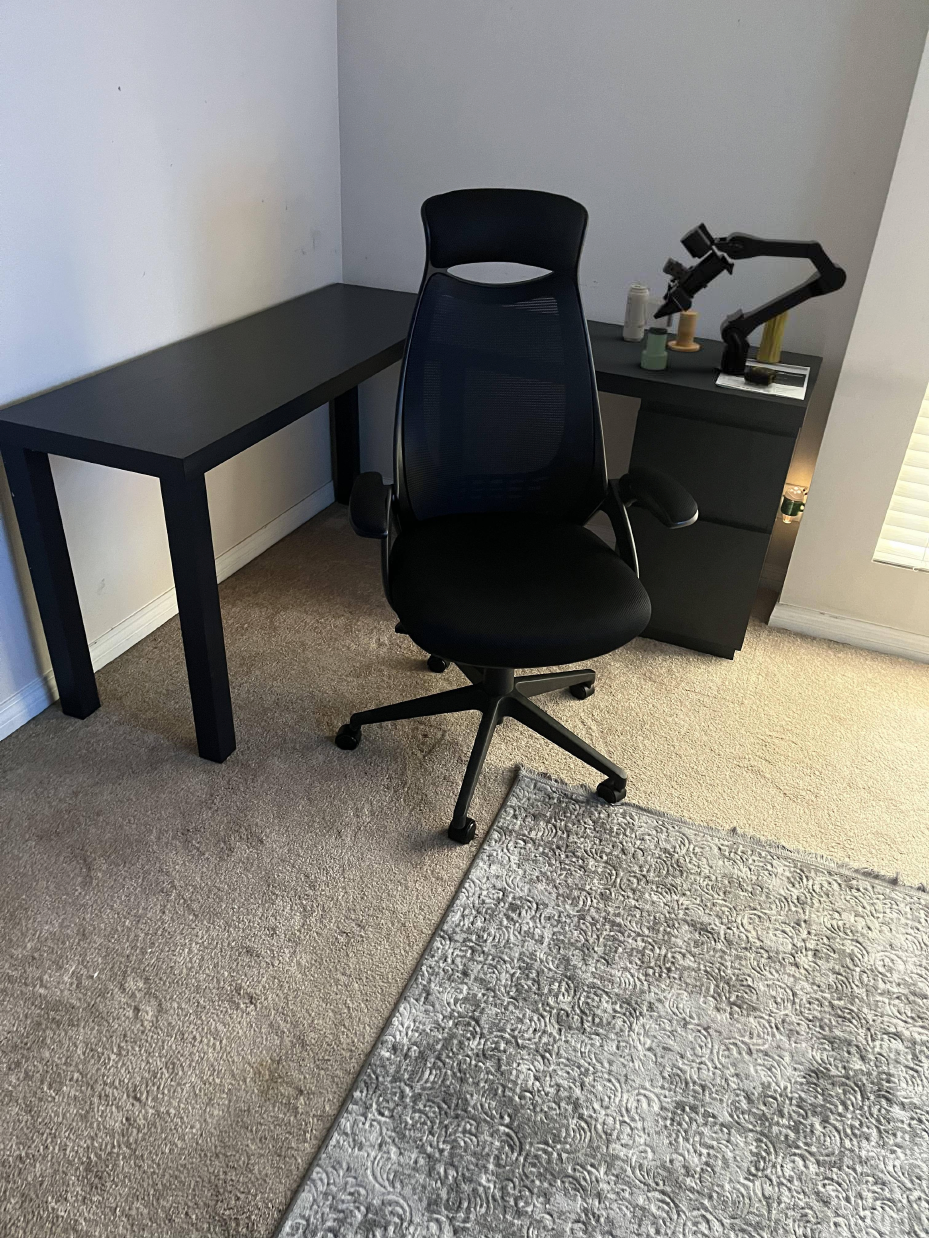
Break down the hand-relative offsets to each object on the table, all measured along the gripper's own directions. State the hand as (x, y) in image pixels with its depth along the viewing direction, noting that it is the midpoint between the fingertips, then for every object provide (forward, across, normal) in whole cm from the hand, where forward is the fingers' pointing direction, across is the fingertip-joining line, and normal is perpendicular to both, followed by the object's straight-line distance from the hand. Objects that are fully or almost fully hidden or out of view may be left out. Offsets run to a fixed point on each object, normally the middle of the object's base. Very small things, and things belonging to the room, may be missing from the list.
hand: (654, 314), depth 232 cm
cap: (+1, 0, +3) cm, 3 cm away
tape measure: (-11, +10, +30) cm, 33 cm away
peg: (+2, -20, +17) cm, 27 cm away
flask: (+8, +1, +11) cm, 14 cm away
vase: (-14, -13, +33) cm, 38 cm away
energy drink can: (+13, -26, +6) cm, 29 cm away
